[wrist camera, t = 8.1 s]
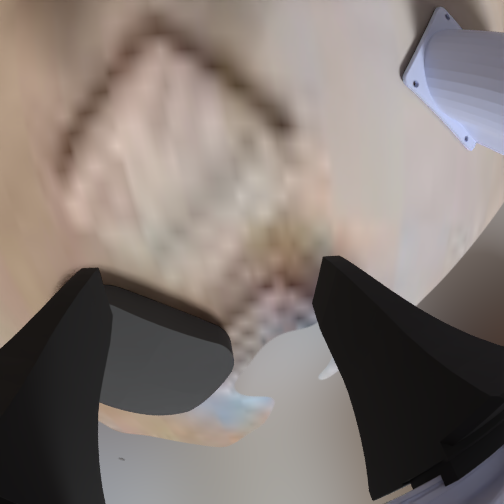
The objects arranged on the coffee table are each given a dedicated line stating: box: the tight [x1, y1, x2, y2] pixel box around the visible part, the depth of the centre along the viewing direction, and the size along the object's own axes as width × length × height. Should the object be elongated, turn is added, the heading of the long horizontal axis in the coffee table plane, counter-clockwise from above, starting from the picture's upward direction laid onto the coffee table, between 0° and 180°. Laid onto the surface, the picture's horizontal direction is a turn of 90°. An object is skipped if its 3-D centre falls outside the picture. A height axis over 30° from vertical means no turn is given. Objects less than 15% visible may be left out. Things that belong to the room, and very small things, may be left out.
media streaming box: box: [99, 285, 234, 415], centre depth 23 cm, size 15×15×3 cm
